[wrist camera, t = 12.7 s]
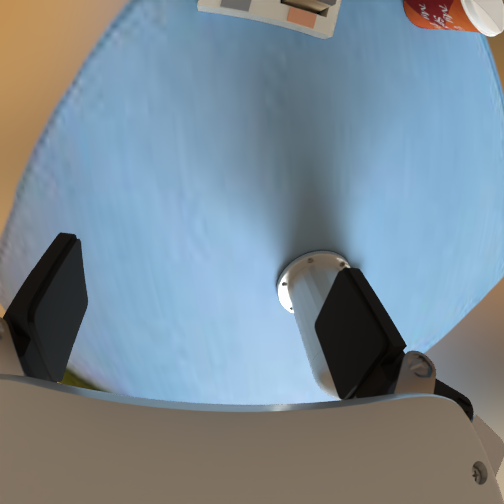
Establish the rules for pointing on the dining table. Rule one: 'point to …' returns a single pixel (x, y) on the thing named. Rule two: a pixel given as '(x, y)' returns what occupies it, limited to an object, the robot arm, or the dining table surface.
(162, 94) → the dining table surface
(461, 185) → the dining table surface
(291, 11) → the socket block
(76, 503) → the robot arm
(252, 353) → the dining table surface
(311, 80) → the dining table surface
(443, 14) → the paper cup
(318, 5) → the plug
